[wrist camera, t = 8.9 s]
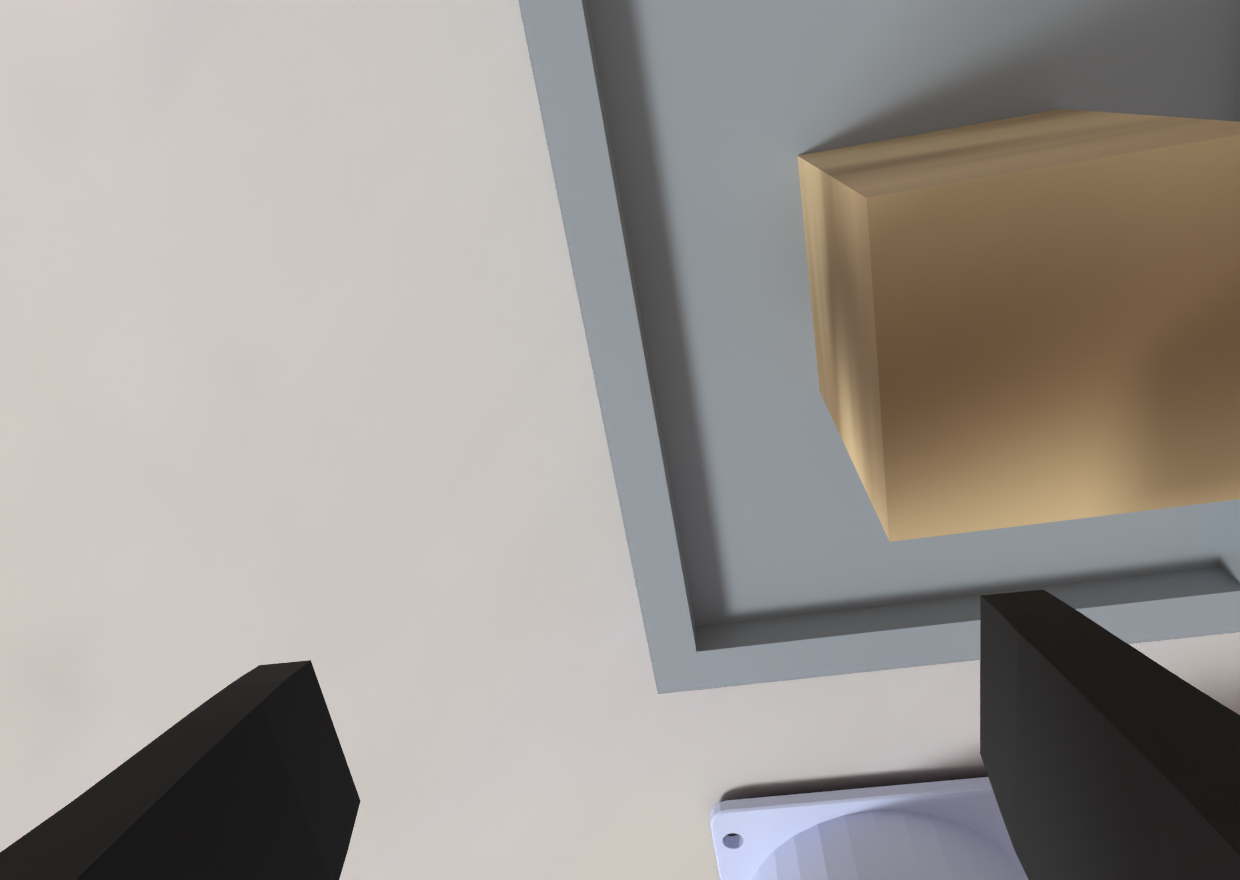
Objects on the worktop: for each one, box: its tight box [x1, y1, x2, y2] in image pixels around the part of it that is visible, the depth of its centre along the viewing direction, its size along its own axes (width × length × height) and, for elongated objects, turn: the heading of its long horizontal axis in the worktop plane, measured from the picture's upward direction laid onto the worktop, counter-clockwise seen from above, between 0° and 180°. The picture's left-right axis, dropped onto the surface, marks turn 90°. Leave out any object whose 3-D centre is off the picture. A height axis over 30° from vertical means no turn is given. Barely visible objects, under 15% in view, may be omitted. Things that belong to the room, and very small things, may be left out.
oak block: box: [798, 109, 1240, 542], centre depth 13 cm, size 4×4×6 cm
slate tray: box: [519, 0, 1240, 694], centre depth 16 cm, size 17×13×2 cm
